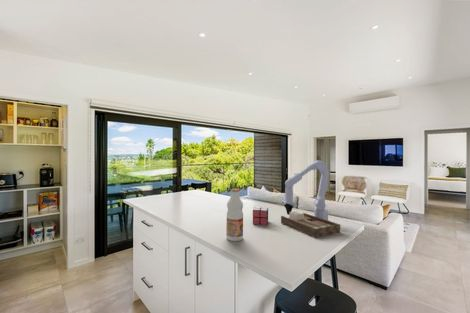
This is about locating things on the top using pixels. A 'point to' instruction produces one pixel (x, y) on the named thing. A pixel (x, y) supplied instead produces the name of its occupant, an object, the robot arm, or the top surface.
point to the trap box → (312, 225)
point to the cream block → (296, 215)
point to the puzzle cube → (260, 215)
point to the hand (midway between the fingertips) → (288, 214)
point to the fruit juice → (234, 217)
